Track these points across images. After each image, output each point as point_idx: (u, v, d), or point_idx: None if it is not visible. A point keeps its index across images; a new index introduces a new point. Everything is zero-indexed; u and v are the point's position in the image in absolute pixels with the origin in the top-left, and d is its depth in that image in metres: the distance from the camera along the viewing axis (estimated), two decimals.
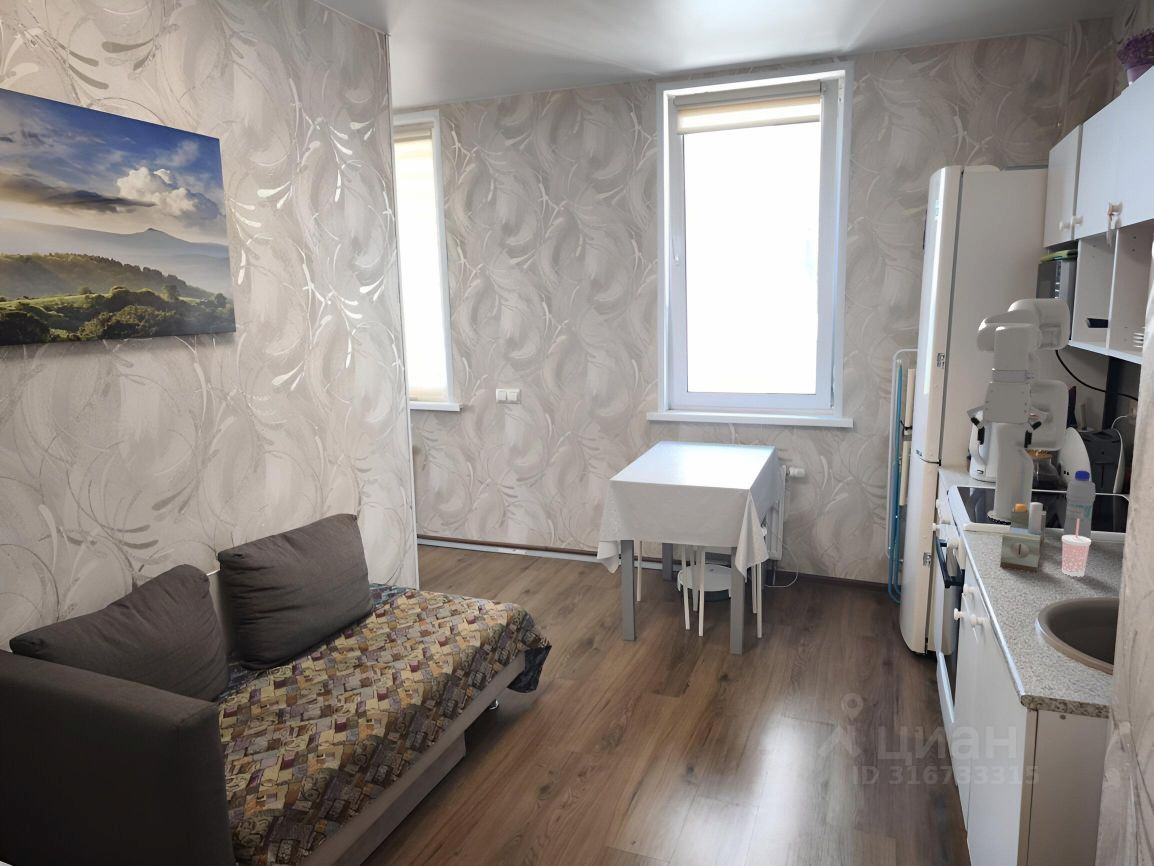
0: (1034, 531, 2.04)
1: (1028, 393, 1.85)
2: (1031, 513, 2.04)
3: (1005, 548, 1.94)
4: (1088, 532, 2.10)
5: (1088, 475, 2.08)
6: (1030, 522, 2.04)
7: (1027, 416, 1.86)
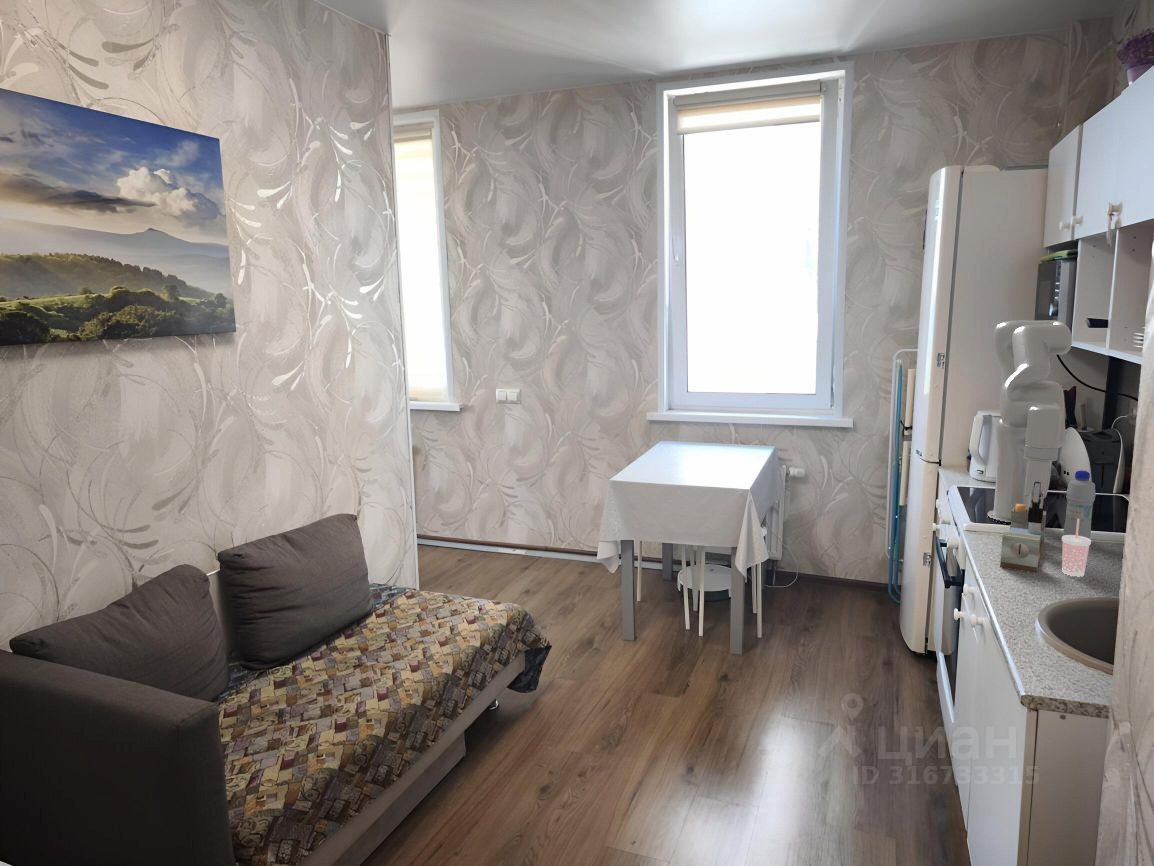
0: (1034, 531, 2.04)
1: None
2: None
3: (1005, 548, 1.94)
4: (1088, 532, 2.10)
5: (1088, 475, 2.08)
6: (1030, 522, 2.04)
7: None
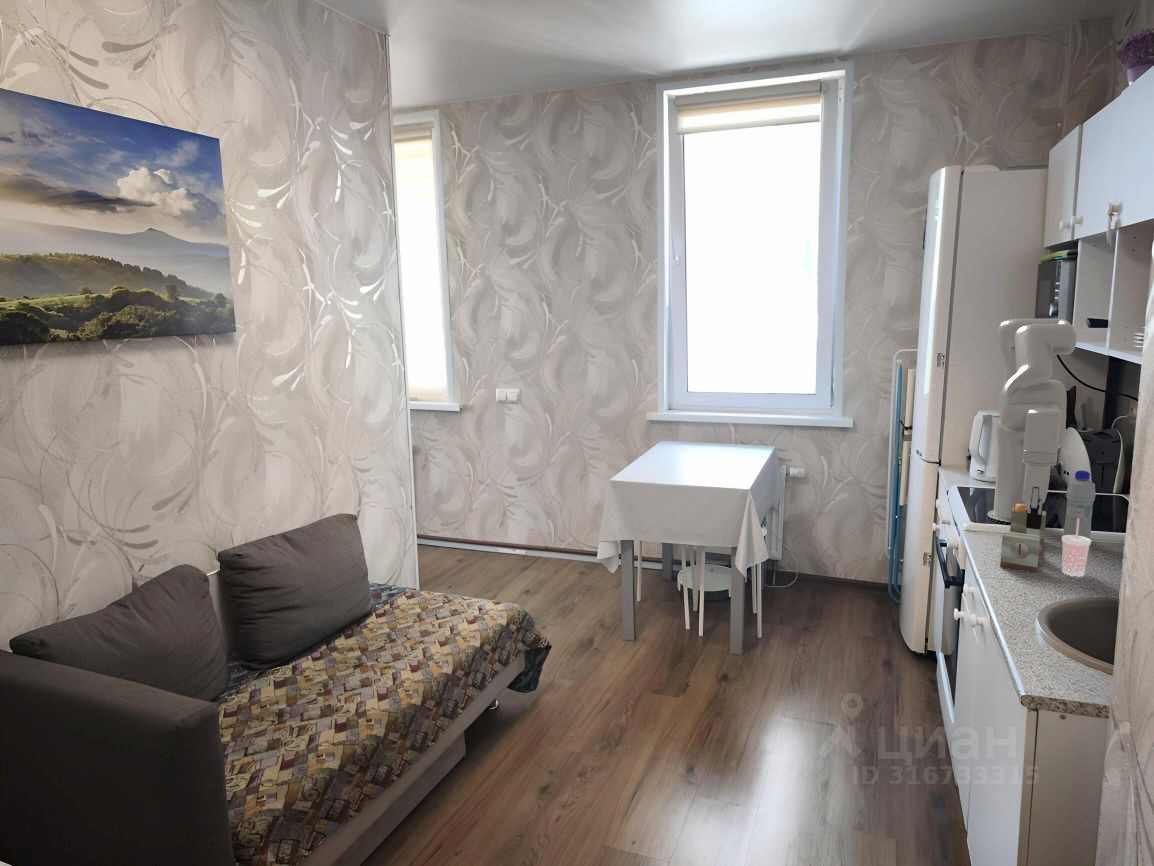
0: None
1: None
2: None
3: (1005, 548, 1.94)
4: (1088, 532, 2.10)
5: (1088, 475, 2.08)
6: (1028, 528, 2.00)
7: None
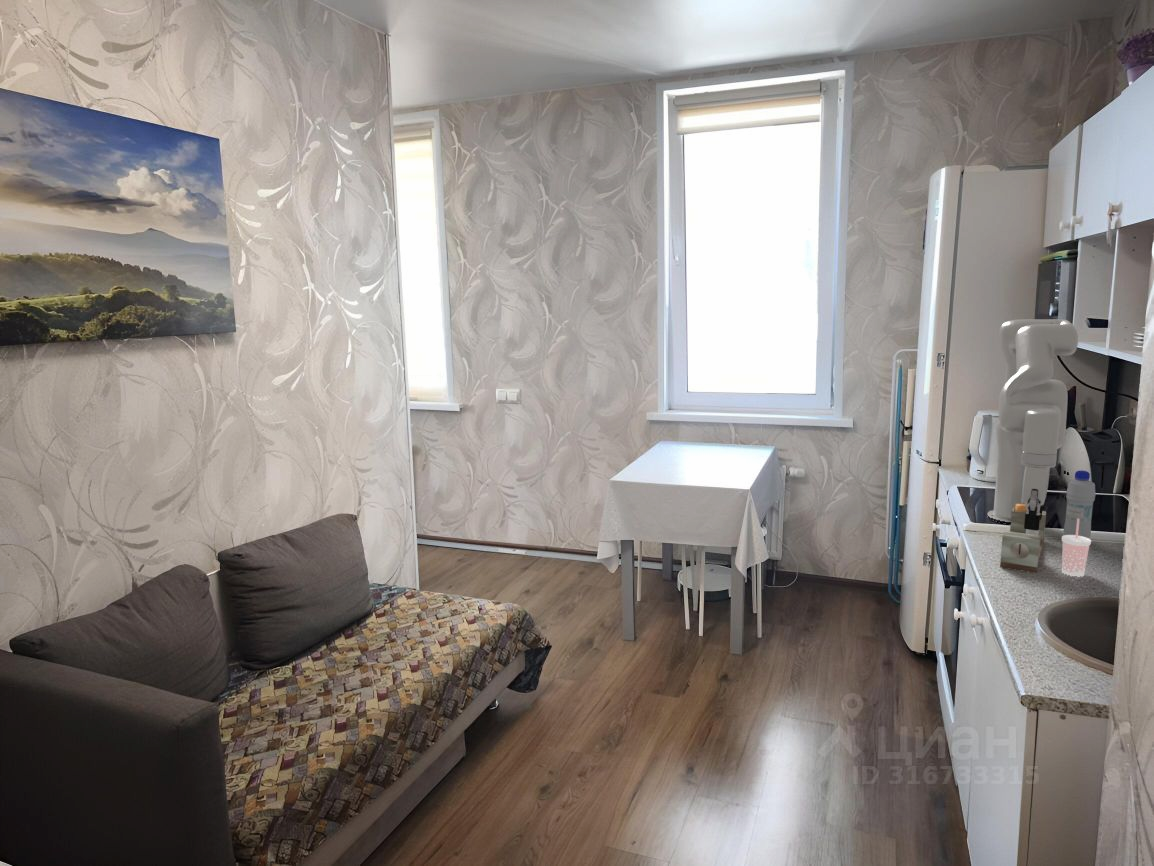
0: None
1: None
2: None
3: (1005, 548, 1.94)
4: (1088, 532, 2.10)
5: (1088, 475, 2.08)
6: (1027, 532, 1.97)
7: None
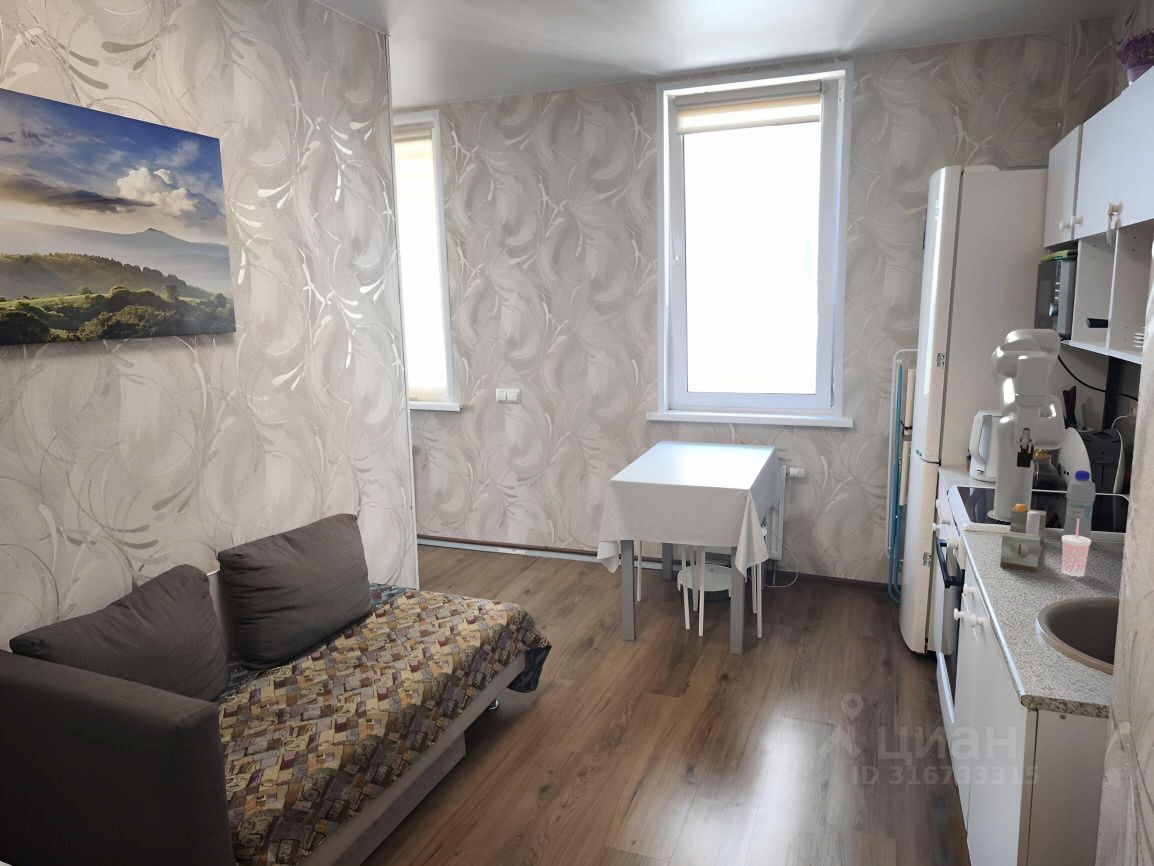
0: None
1: None
2: (1028, 522, 1.96)
3: (1005, 548, 1.94)
4: (1088, 532, 2.10)
5: (1088, 475, 2.08)
6: (1027, 532, 1.97)
7: None
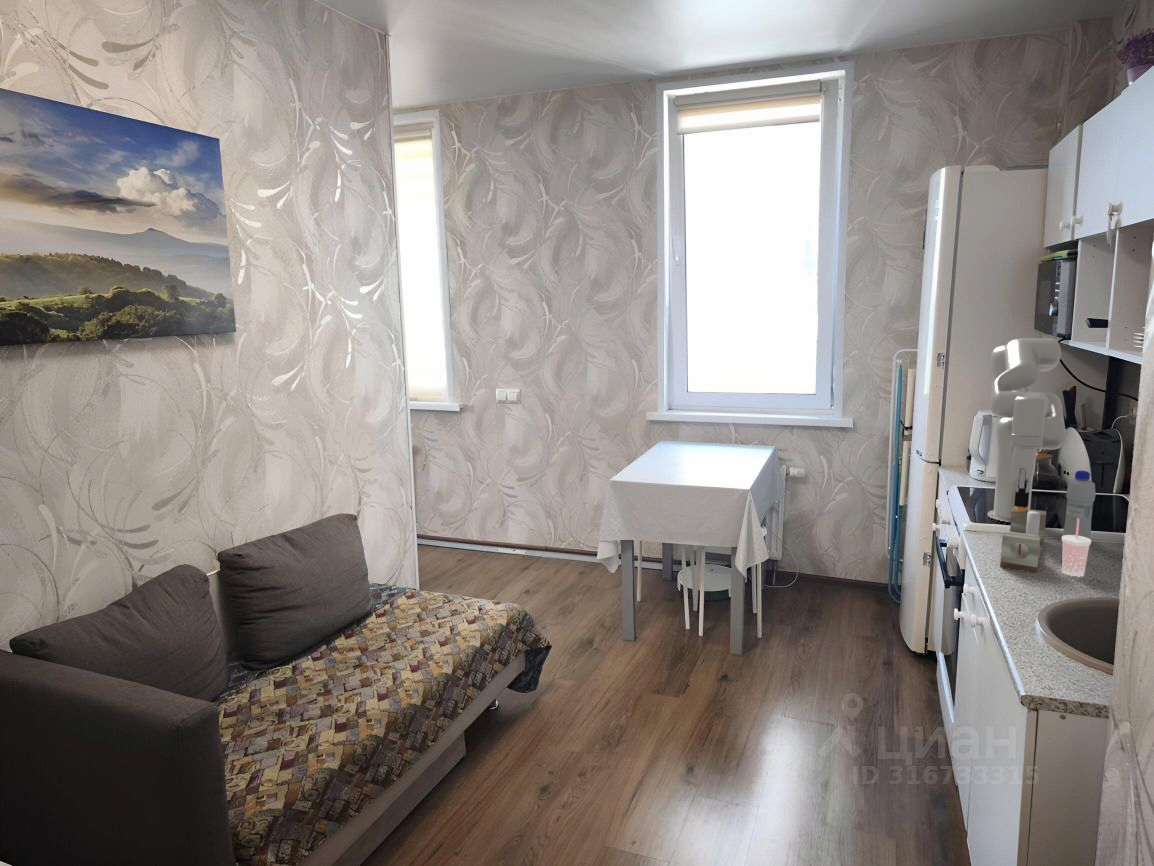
0: None
1: None
2: (1028, 522, 1.96)
3: (1005, 548, 1.94)
4: (1088, 532, 2.10)
5: (1088, 475, 2.08)
6: (1027, 532, 1.97)
7: None
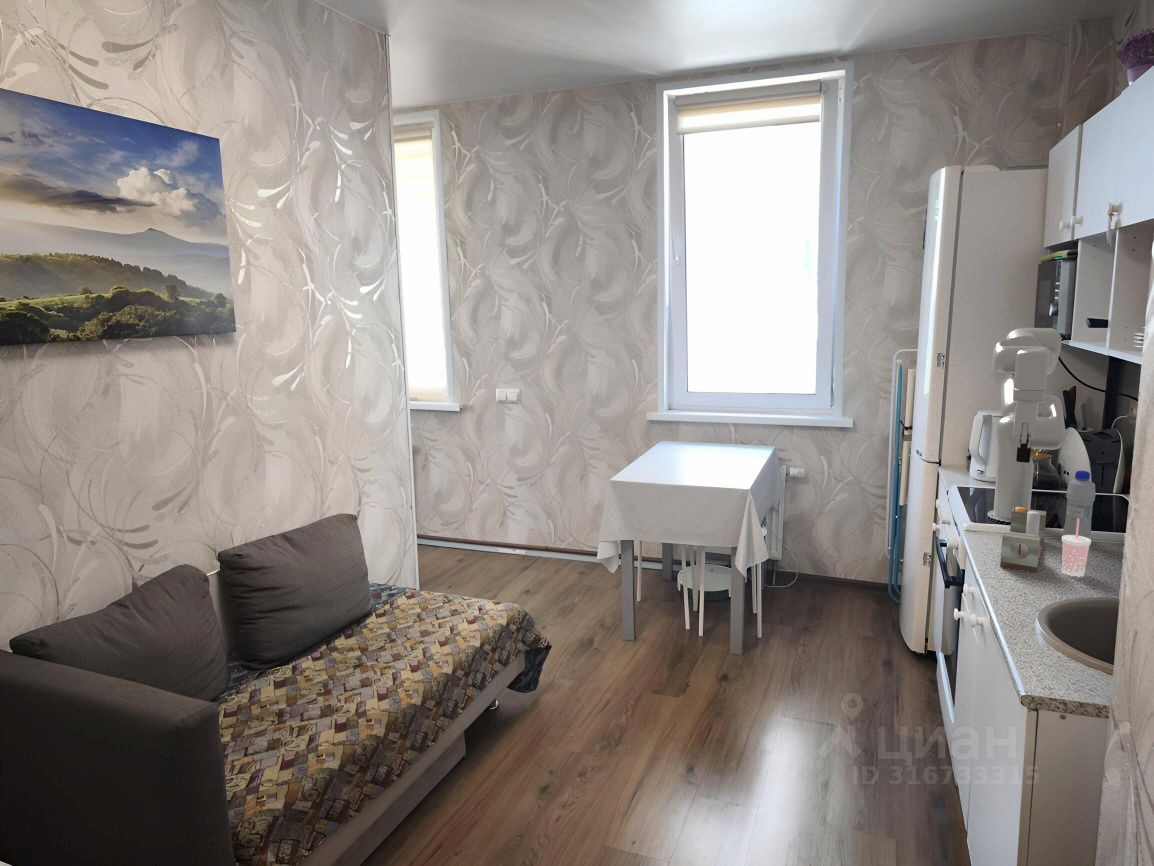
0: None
1: None
2: (1028, 522, 1.96)
3: (1005, 548, 1.94)
4: (1088, 532, 2.10)
5: (1088, 475, 2.08)
6: (1027, 532, 1.97)
7: None
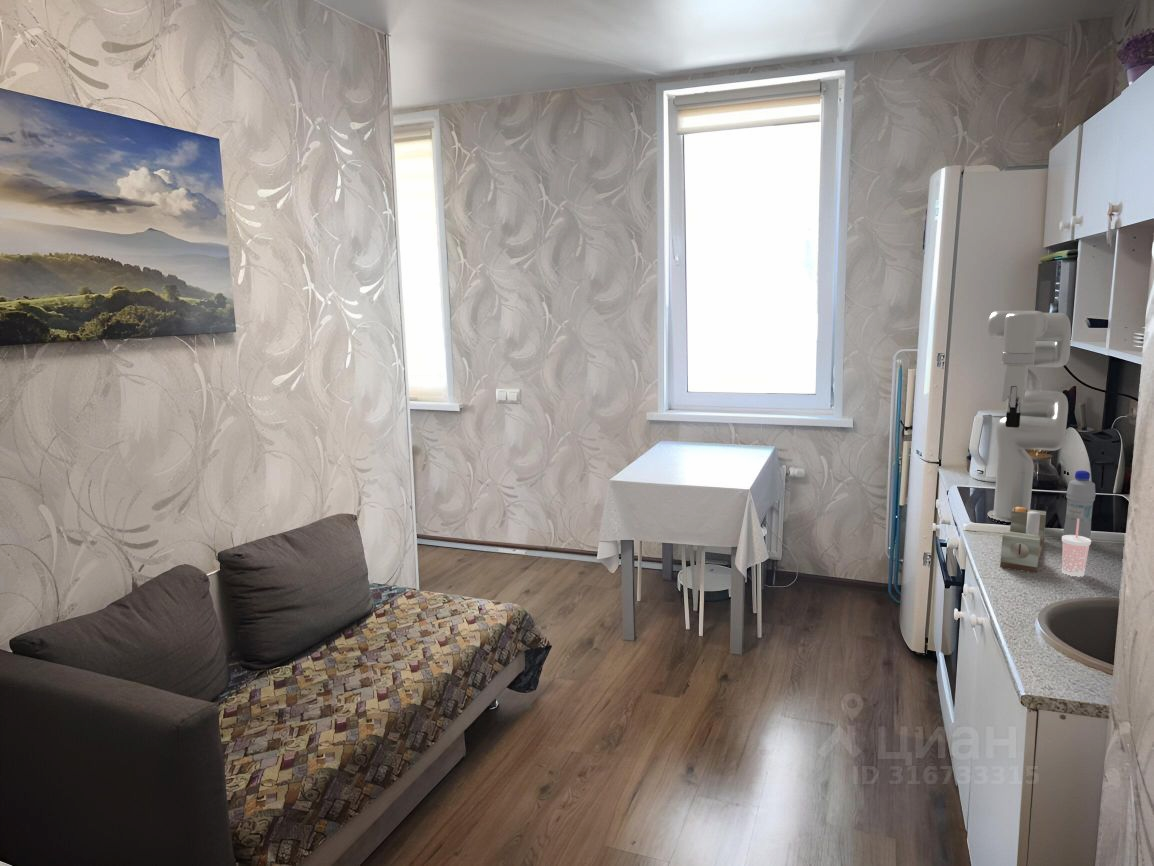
0: None
1: None
2: (1028, 522, 1.96)
3: (1005, 548, 1.94)
4: (1088, 532, 2.10)
5: (1088, 475, 2.08)
6: (1027, 532, 1.97)
7: None
